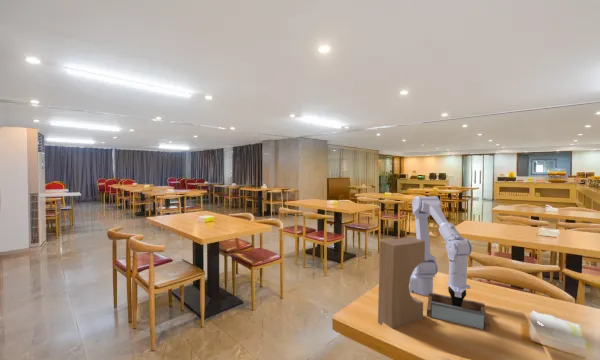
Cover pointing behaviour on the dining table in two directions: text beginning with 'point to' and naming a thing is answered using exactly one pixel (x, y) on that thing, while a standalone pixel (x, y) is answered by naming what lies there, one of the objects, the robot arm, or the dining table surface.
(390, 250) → the decorative block
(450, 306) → the panel
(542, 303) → the dining table surface
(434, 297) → the tray
